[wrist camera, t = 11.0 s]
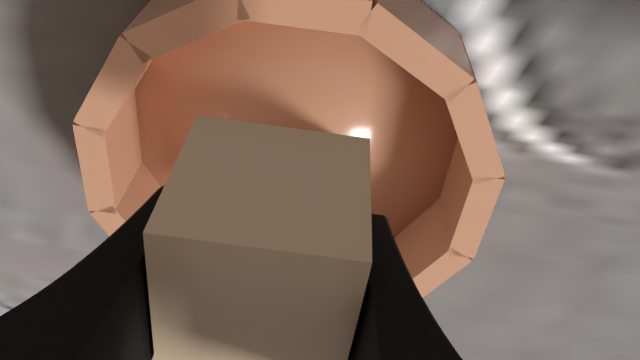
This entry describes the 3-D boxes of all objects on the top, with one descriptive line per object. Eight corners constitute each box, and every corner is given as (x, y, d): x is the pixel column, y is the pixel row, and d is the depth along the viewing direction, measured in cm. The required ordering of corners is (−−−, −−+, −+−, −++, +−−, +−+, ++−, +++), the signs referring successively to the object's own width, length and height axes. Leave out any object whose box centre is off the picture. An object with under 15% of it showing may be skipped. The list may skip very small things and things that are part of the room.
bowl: (533, -17, 18) (565, 26, 15) (431, 283, 26) (439, 345, 23) (92, -75, 18) (41, -43, 15) (133, 246, 26) (105, 305, 23)
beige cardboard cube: (369, 138, 13) (372, 262, 10) (344, 260, 15) (339, 392, 12) (197, 115, 13) (142, 232, 10) (198, 241, 15) (155, 368, 12)
